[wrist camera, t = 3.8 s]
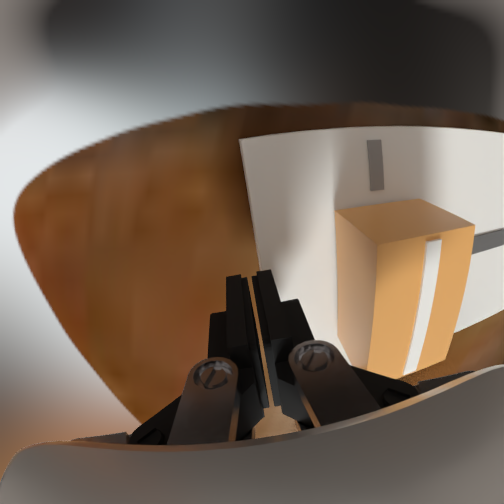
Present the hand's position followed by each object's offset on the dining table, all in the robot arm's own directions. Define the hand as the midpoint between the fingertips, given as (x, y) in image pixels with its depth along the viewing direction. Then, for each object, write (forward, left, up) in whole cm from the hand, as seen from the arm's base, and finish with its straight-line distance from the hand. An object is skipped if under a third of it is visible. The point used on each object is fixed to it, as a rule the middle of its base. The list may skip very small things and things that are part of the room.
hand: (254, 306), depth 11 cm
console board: (-15, 0, -3) cm, 16 cm away
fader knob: (-5, 0, -1) cm, 6 cm away
